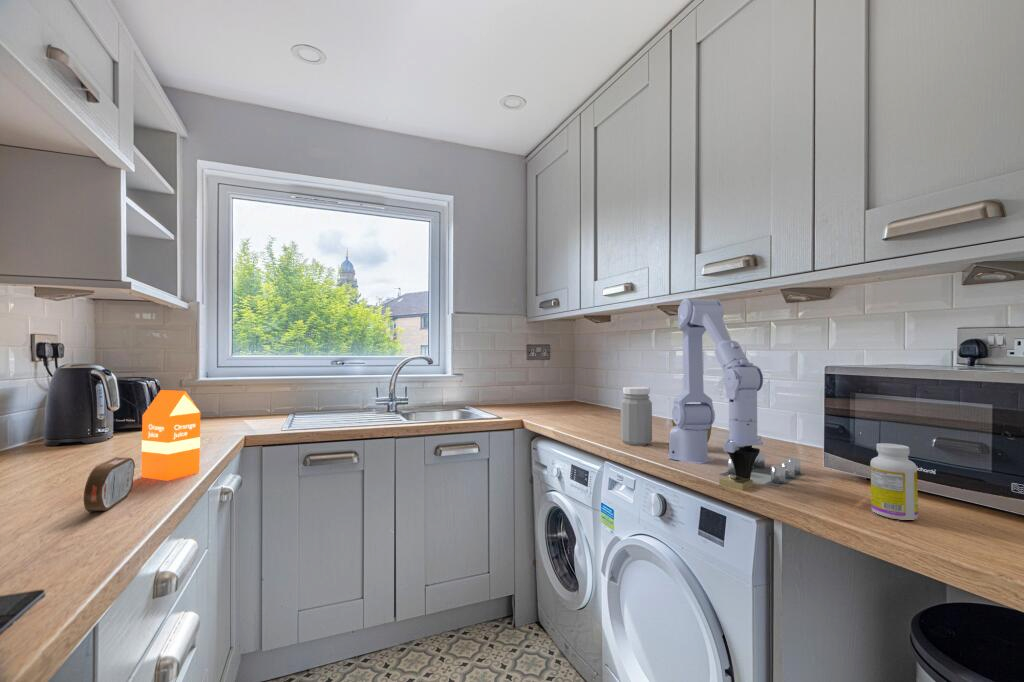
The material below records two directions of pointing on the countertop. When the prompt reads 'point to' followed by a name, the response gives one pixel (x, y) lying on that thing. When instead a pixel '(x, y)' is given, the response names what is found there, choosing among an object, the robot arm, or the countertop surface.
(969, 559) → the countertop surface
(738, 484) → the tan square block
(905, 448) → the supplement bottle
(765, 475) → the mat
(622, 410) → the jar
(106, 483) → the tin
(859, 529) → the countertop surface
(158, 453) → the orange juice
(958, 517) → the countertop surface
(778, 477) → the spacers
